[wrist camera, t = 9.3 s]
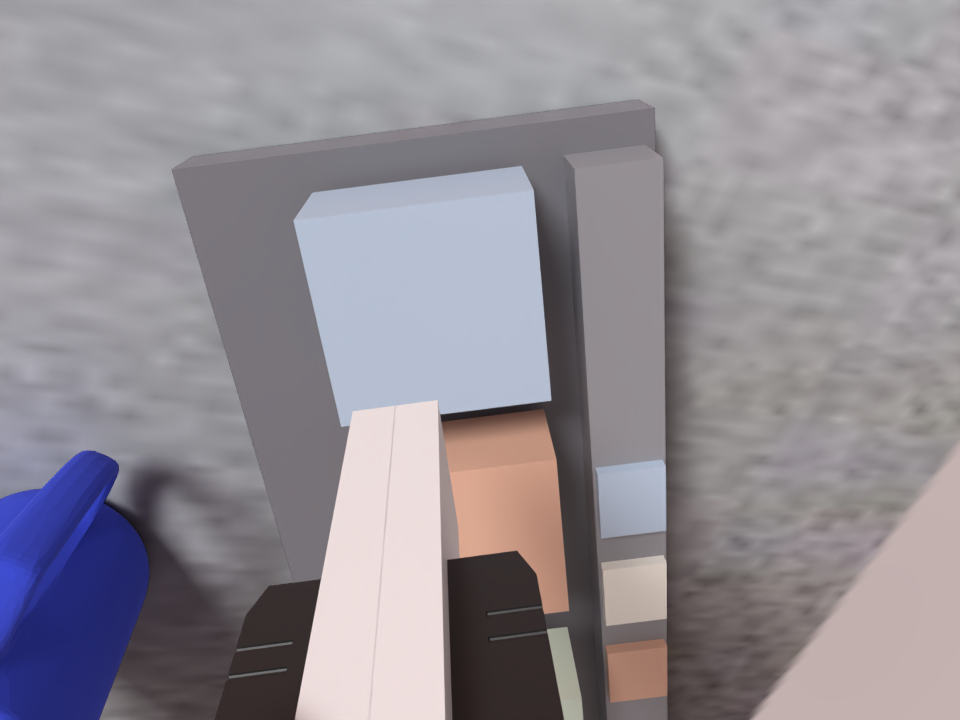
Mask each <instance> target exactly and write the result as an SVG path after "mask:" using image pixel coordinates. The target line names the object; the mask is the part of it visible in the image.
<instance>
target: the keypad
mask: <svg viewBox="0 0 960 720" xmlns="http://www.w3.org/2000/svg"><path fill="white" fill-rule="evenodd" d="M517 166H522V167H523V169H524V171H525V173H526V175H527V177H528V179H529V182H530V184H531V186H532V188H533V190H534V200H535V212H536V224H537V235H538V247H539V259H540V271H541V283H542V295H543V307H544V318H545V330H546V342H547V354H548V366H549V378H550V389H551V401H544V402H536V403H528V404H520V405H512V406H504V407H496V408H488V409H480V410H472V411H464V412H456V413H448V414H440V417H441V422H444V421H452V420H460V419H468V418H476V417H484V416H492V415H500V414H508V413H516V412H524V411H532V410H540V409H544V412H545V416H546V420H547V424H548V428H549V432H550V436H551V440H552V444H553V448H554V452H555V456H556V461H557V472H558V484H559V496H560V508H561V520H562V532H563V543H564V555H565V567H566V579H567V591H568V603H569V611H564V612H556V613H548V614H544V616H545V621H546V626H547V629H554V628H562V627H567V628H568V633H569V638H570V643H571V648H572V653H573V658H574V663H575V667H576V672H577V677H578V682H579V687H580V692H581V697H582V709H583V720H667V563H666V450H665V310H664V169H663V157H662V156H660V155H659V154H657V153H656V152H655V108H654V107H652V106H650V105H648V104H646V103H644V102H642V101H640V100H630V101H623V102H615V103H607V104H599V105H591V106H584V107H576V108H568V109H560V110H552V111H545V112H537V113H529V114H521V115H513V116H506V117H498V118H490V119H482V120H474V121H466V122H459V123H451V124H443V125H435V126H427V127H420V128H412V129H404V130H396V131H388V132H381V133H373V134H365V135H357V136H349V137H342V138H334V139H326V140H318V141H310V142H302V143H295V144H287V145H279V146H271V147H263V148H256V149H248V150H240V151H232V152H224V153H217V154H209V155H201V156H193V157H191V158H189V159H188V160H186V161H185V162H183V163H181V164H180V165H178V166H177V167H175V168H173V169H172V173H173V176H174V180H175V183H176V186H177V190H178V193H179V197H180V200H181V203H182V207H183V210H184V213H185V217H186V220H187V224H188V227H189V230H190V234H191V237H192V240H193V244H194V247H195V251H196V254H197V257H198V261H199V264H200V267H201V271H202V274H203V278H204V281H205V284H206V288H207V291H208V294H209V298H210V301H211V305H212V308H213V311H214V315H215V318H216V321H217V325H218V328H219V332H220V335H221V338H222V342H223V345H224V348H225V352H226V355H227V359H228V362H229V365H230V369H231V372H232V375H233V379H234V382H235V386H236V389H237V392H238V396H239V399H240V402H241V406H242V409H243V413H244V416H245V419H246V423H247V426H248V429H249V433H250V436H251V440H252V443H253V446H254V450H255V453H256V456H257V460H258V463H259V466H260V470H261V473H262V477H263V480H264V483H265V487H266V490H267V493H268V497H269V500H270V504H271V507H272V510H273V514H274V517H275V520H276V524H277V527H278V531H279V534H280V537H281V541H282V544H283V547H284V551H285V554H286V558H287V561H288V564H289V568H290V571H291V574H292V578H293V581H294V583H295V582H303V581H310V580H318V579H321V577H322V572H323V567H324V561H325V556H326V551H327V545H328V540H329V535H330V529H331V524H332V519H333V513H334V508H335V503H336V497H337V492H338V487H339V481H340V476H341V471H342V465H343V460H344V455H345V449H346V444H347V439H348V434H349V428H350V426H344V427H341V424H340V419H339V415H338V411H337V407H336V402H335V398H334V394H333V389H332V385H331V381H330V376H329V372H328V368H327V363H326V359H325V355H324V350H323V346H322V342H321V337H320V333H319V329H318V325H317V320H316V316H315V312H314V307H313V303H312V299H311V294H310V290H309V286H308V281H307V277H306V273H305V268H304V264H303V260H302V255H301V251H300V247H299V242H298V238H297V234H296V230H295V225H294V221H293V220H294V219H295V218H296V216H297V215H298V213H299V212H300V210H301V209H302V207H303V206H304V204H305V203H306V201H307V200H308V198H309V197H310V195H311V194H312V193H313V192H321V191H328V190H336V189H344V188H352V187H360V186H368V185H376V184H383V183H391V182H399V181H407V180H415V179H423V178H430V177H438V176H446V175H454V174H462V173H470V172H478V171H485V170H493V169H501V168H509V167H517Z"/></svg>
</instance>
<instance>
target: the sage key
mask: <svg viewBox="0 0 960 720" xmlns="http://www.w3.org/2000/svg"><path fill="white" fill-rule="evenodd" d="M547 633H548V637H549V642H550V647H551V653H552V658H553V663H554V669H555V674H556V679H557V684H558V690H559V695H560V700H561V705H562V711H563V716H564V720H583V709H582V697H581V692H580V687H579V682H578V677H577V672H576V667H575V663H574V658H573V653H572V648H571V643H570V638H569V633H568V628H567V627H562V628H554V629H547Z"/></svg>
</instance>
